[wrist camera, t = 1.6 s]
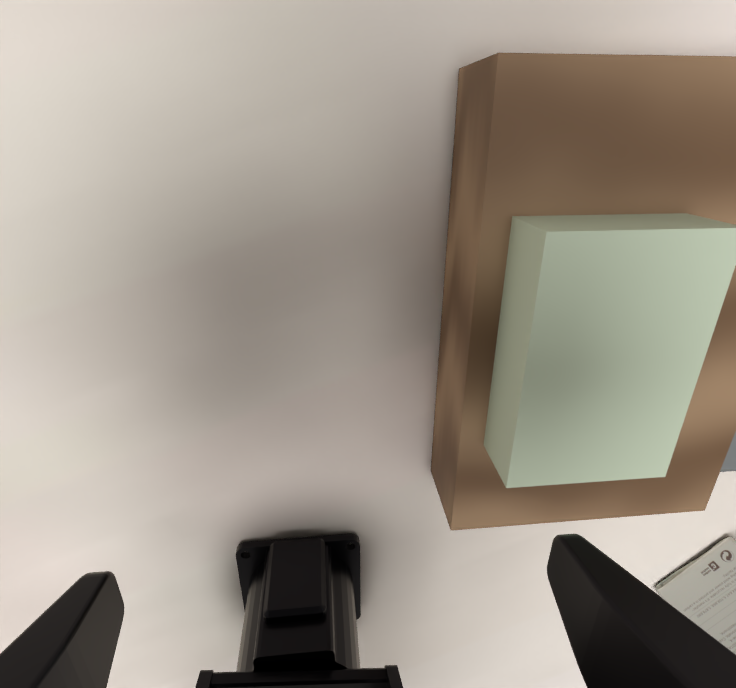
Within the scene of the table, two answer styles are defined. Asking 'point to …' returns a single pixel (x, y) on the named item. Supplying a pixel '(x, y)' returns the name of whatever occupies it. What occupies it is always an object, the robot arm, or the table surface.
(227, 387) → the table surface
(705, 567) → the skincare box
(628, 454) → the sage tile
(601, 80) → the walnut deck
